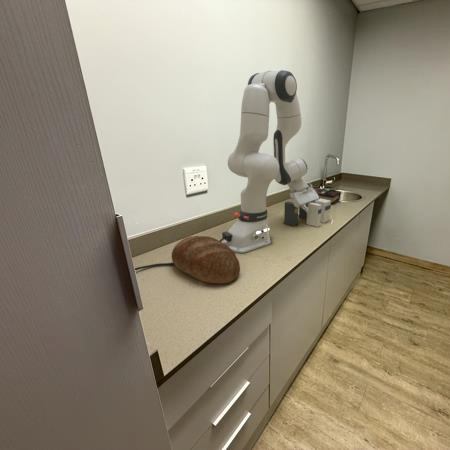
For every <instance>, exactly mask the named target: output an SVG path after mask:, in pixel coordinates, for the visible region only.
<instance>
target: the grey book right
mask: <svg viewBox="0 0 450 450" xmlns="http://www.w3.org/2000/svg"><path fill="white" fill-rule="evenodd" d="M307 206H308V204H307V205H306V207H307ZM298 208H299V210H298V218H302V219H306V220H307V212H306V211H305V210H304V209H302V208H301V207H298Z"/></svg>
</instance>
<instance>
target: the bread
mask: <svg viewBox="0 0 450 450" xmlns="http://www.w3.org/2000/svg"><path fill="white" fill-rule="evenodd" d="M222 242H223V241H221V242H220V240H218V239H217V238H215V237H211V236H207V235H206V236H205V235H193V236H188V237H185V238H183V239H182V240H180V241H179V242H178V243H177V244H175V246H174V247H173V249H172V251H171V261H172V263H174V265H173V266H175V267H176V268H177V269H178V270H180V271H181V272H183V273H185V274H187V275H189V276H191V277H192V278H195V279H196V280H198V281H200V282H203V283H208V284H227V283H228V284H229V283H232V282H233V281H234V280H235V279H236V278H238V276H239V274H240V272H241V263H240V261H239V258H238V256H237V255H236V252H233V251H232V250H231V249H230V248H229V247H228V246H227V245H226V244H224V243H222Z"/></svg>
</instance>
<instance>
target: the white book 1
mask: <svg viewBox="0 0 450 450" xmlns="http://www.w3.org/2000/svg"><path fill="white" fill-rule="evenodd" d="M321 206H322V205H321V204H317V203H312V202H310V203H308V206H307V208H309V209H310V212H308V213H307V219H306V223H305V224H306V225H309V226H312V227H315V228H318V227H320V226H321V222H320V219H321Z"/></svg>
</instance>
